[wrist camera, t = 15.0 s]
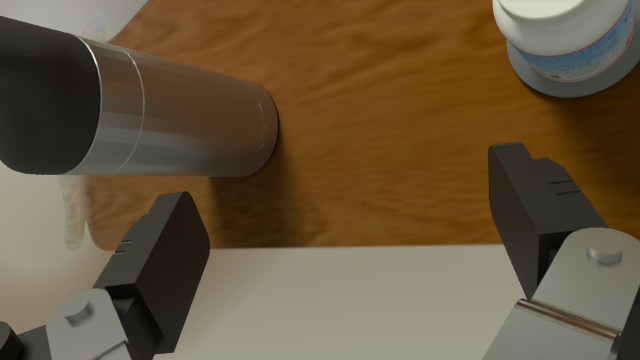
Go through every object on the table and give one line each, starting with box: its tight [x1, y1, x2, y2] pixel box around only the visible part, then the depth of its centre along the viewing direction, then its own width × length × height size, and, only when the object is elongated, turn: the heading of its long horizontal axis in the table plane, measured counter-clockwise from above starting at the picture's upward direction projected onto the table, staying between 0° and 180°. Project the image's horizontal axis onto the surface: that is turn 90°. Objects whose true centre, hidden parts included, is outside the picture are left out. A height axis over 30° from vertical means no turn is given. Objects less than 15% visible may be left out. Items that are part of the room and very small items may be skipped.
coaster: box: [507, 0, 640, 98], centre depth 30 cm, size 8×8×1 cm
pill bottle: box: [493, 0, 635, 82], centre depth 25 cm, size 6×6×11 cm
